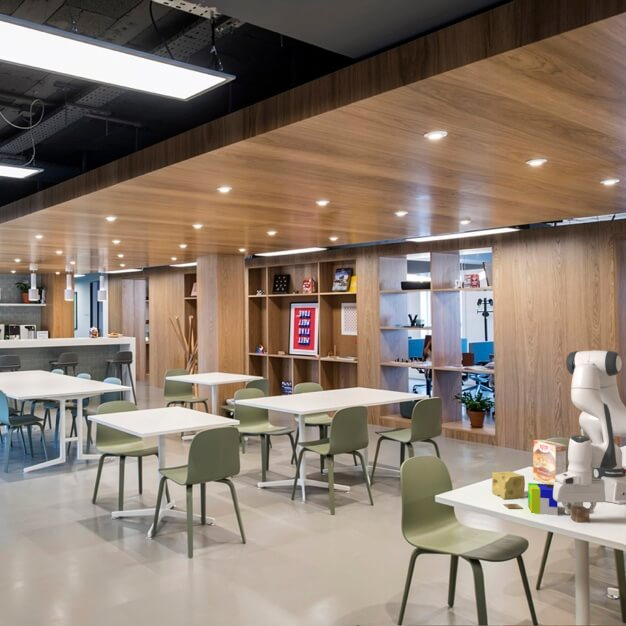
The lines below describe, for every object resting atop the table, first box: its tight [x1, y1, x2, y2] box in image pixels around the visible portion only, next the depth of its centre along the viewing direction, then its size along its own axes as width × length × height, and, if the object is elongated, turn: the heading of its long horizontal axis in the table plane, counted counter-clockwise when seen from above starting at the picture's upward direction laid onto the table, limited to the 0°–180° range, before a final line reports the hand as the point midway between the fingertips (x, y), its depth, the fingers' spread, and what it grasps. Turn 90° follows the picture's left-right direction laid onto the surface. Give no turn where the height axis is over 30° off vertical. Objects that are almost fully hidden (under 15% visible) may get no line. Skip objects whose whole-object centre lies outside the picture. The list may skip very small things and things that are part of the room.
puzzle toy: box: [527, 482, 559, 516], centre depth 258 cm, size 10×10×10 cm
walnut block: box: [570, 505, 590, 523], centre depth 246 cm, size 5×5×5 cm
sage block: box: [563, 502, 584, 512], centre depth 259 cm, size 5×5×5 cm
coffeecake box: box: [532, 439, 567, 485], centre depth 307 cm, size 15×7×20 cm, turn 23°
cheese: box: [491, 470, 526, 500], centre depth 281 cm, size 10×11×10 cm
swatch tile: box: [502, 503, 524, 510], centre depth 263 cm, size 6×6×1 cm
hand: (579, 513), depth 246 cm, fingers open, 8 cm apart
